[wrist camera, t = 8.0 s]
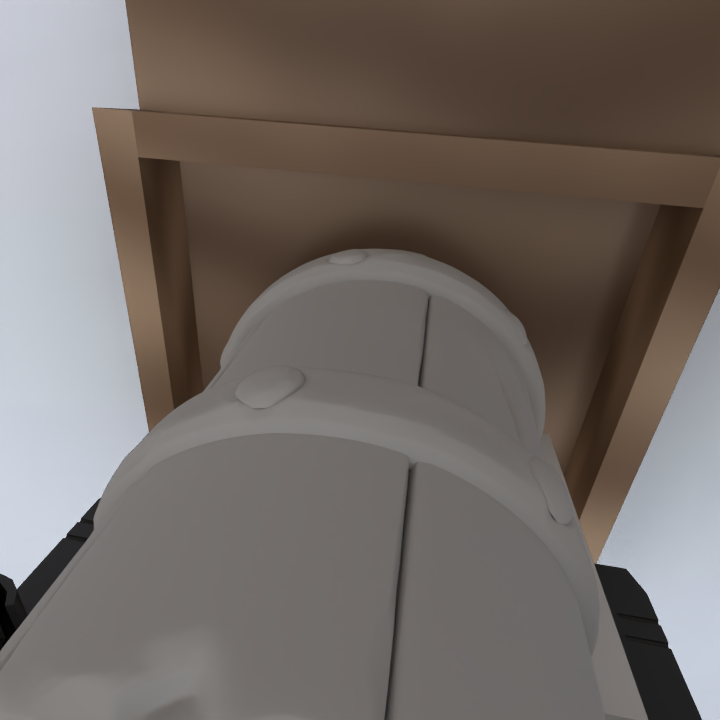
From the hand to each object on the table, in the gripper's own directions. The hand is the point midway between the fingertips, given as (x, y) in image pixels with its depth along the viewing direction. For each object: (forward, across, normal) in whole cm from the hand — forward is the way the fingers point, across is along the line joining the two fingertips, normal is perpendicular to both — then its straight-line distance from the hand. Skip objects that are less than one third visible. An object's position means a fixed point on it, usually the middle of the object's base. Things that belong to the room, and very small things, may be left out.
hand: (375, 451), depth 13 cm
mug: (+1, +1, 0) cm, 1 cm away
